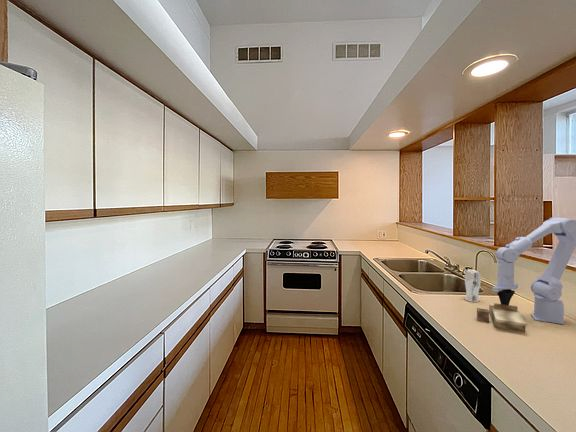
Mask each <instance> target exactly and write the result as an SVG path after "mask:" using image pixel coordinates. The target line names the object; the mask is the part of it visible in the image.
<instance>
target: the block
mask: <svg viewBox="0 0 576 432" xmlns="http://www.w3.org/2000/svg"><path fill="white" fill-rule="evenodd" d="M476 321H477V322H481V323H485V324H486V323H487V324H489V323H490V313H489V308H488V309H487V308H479V307H477V308H476Z"/></svg>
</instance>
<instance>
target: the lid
mask: <svg viewBox="0 0 576 432" xmlns="http://www.w3.org/2000/svg"><path fill="white" fill-rule="evenodd" d="M493 305H494V308H493V307H492V312H493V315H494V317H495V320H496V322H501V323H508V324H514V325H521V326H525V327H527V325H528V324H527V322H526V320H525V318H524V316H523V315H522V314H521V312H520V310H518V309H519V307H518V306H517V305H511V304H509V305H504V304H501V303H495V302H494V304H493Z"/></svg>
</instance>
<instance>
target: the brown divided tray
mask: <svg viewBox="0 0 576 432" xmlns="http://www.w3.org/2000/svg"><path fill="white" fill-rule="evenodd" d="M492 307H493V308H494V304H489V305H488V311H489V317H490V318H491V322H492V325H493V327H494V328H499V329H504V330H510V331H515V332H516V331H517V332H522V333H526V326H521V325H514V324H508V323H501V322H496V320H495V317H494V315H493V312H492Z"/></svg>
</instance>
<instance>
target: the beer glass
mask: <svg viewBox="0 0 576 432" xmlns="http://www.w3.org/2000/svg"><path fill="white" fill-rule="evenodd" d="M481 281H482V275H481V271H479V270H475V269H466V270H465V272H464V285H465V292H466V293H465V299H464V300H465V301H467V302H470V303H479V302H480V298H479V297H480V296H479V292H480V288H481V284H482V283H481Z"/></svg>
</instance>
